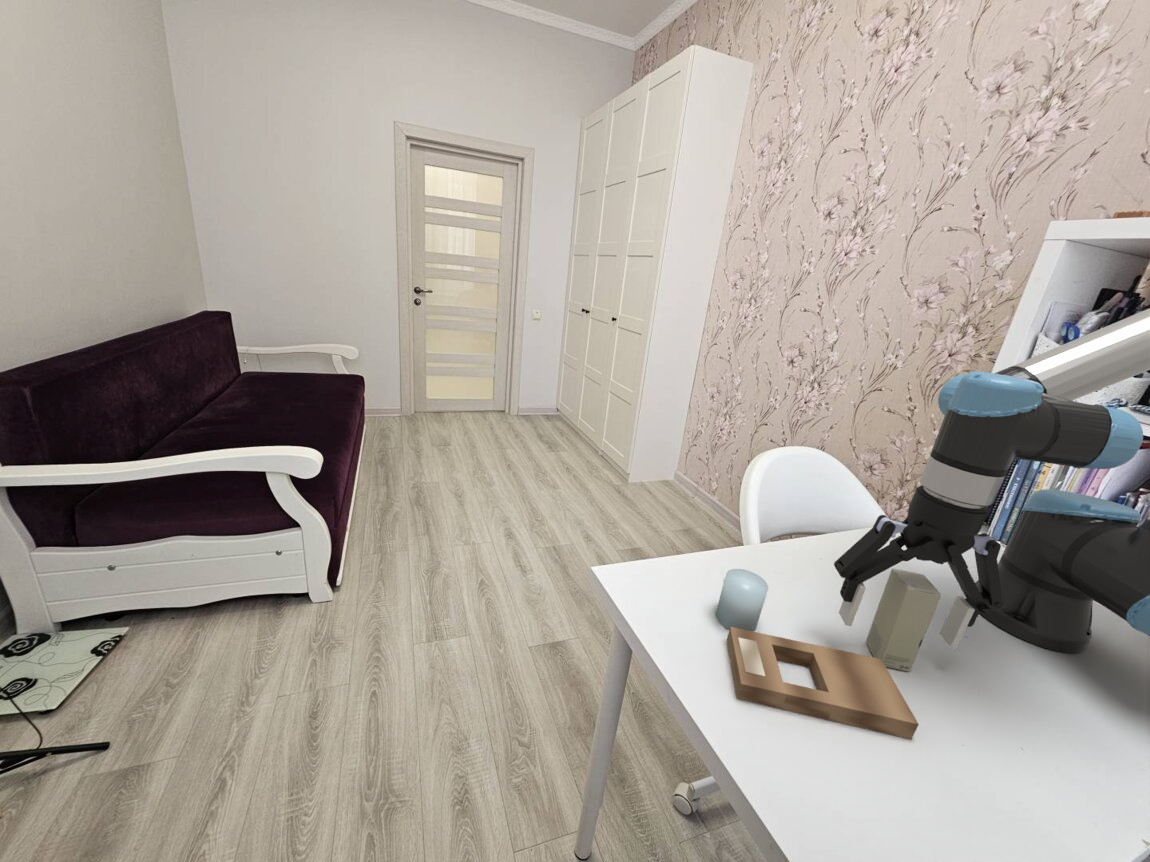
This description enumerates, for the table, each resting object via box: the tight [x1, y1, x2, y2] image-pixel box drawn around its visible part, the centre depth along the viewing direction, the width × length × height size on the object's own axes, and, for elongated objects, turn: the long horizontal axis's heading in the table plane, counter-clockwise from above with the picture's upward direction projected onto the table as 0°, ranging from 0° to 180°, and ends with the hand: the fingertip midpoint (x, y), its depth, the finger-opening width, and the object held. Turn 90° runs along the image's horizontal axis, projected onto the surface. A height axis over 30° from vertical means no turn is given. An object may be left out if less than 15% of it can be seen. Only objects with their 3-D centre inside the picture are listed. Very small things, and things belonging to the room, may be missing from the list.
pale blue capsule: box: [715, 568, 769, 632], centre depth 70 cm, size 6×6×7 cm
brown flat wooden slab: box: [726, 627, 920, 740], centre depth 61 cm, size 20×10×2 cm, turn 80°
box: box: [865, 568, 942, 672], centre depth 66 cm, size 5×4×13 cm
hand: (895, 630), depth 66 cm, fingers open, 13 cm apart
